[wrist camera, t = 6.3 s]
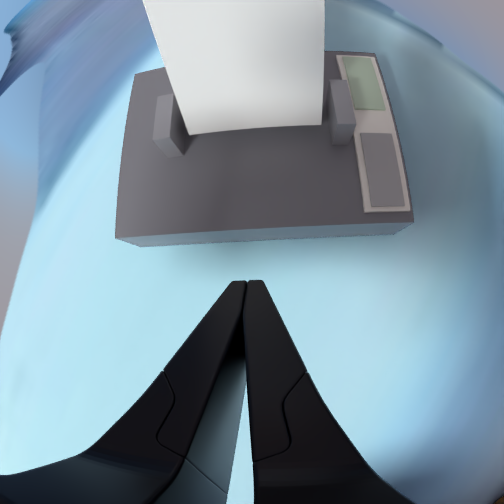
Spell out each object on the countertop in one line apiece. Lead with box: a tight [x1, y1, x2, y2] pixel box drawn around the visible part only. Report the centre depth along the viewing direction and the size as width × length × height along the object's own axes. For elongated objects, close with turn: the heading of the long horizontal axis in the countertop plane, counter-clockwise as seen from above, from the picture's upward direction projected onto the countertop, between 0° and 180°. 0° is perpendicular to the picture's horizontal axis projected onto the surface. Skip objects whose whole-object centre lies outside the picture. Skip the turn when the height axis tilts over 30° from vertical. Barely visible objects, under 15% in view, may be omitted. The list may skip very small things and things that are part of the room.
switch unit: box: [115, 51, 414, 247], centre depth 15 cm, size 10×14×5 cm
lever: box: [143, 0, 325, 135], centre depth 10 cm, size 2×6×10 cm, turn 92°
